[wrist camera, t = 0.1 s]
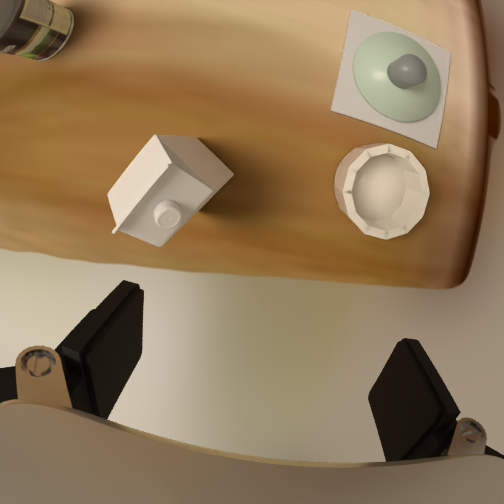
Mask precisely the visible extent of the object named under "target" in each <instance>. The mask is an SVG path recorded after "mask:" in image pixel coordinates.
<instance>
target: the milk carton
mask: <svg viewBox="0 0 504 504" xmlns="http://www.w3.org/2000/svg"><path fill="white" fill-rule="evenodd" d="M233 175H234V173H233V172H232V171H231V170H230V169H229V168H228V167H227V166H226V165H225V164H224V163H223V162H222V161H220V160H219V159H218V158H217V157H216V156H215V155H214V154H213V153H212V152H211V151H210V150H209V149H208V148H207V147H206V146H205V145H204V144H203V143H202V142H201V141H200V140H199V139H198V138H196V137H186V136H173V135H156V134H155V135H154V136H153V137H152V138H151V139H150V140H149V142H148V143H147V144H146V145H145V146H144V148H143V149H142V150H141V151H140V152H139V154H138V155H137V156H136V157H135V159H134V160H133V161H132V162H131V164H130V165H129V166H128V167H127V169H126V170H125V171H124V173H123V174H122V175H121V176H120V178H119V179H118V180H117V182H116V183H115V184H114V186H113V187H112V188H111V190H110V191H109V193H108V198H109V202H110V205H111V209H112V212H113V215H114V219H115V222H116V225H117V226H116V227H115V228H114V230H113V231H112V233H113V234H114V233H115V232H117V231H122V232H124V233H127V234H129V235H131V236H134V237H136V238H139V239H141V240H143V241H146V242H148V243H151V244H153V245H155V246H158V247H161V246H162V245H164V244H165V243H166V242H167V241H168V240H169V239H170V238H171V237H172V236H173V235H174V234H175V233H176V232H177V231H178V230H179V229H180V228H181V227H182V226H183V225H184V224H185V223H186V222H187V221H188V220H189V219H191V218H192V217H193V216H194V215H195V214H196V213H197V212H198V211H199V210H200V209H201V208H202V207H203V206H204V205H205V204H206V203H207V202H208V201H209V200H210V199H211V198H212V197H213V196H214V195H215V194H216V193H217V192H218V191H219V190H220V189H221V188H222V187H223V186H224V185H225V184H226V183H227V182H228V181H229V180H230V179H231V178H232V177H233Z"/></svg>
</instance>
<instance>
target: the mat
mask: <svg viewBox="0 0 504 504" xmlns="http://www.w3.org/2000/svg"><path fill="white" fill-rule="evenodd" d="M379 32H396V33H400V34H403V35H406V36H408V37H410V38H412V39H413V40H415V41H416V42H418V43H419V44H420V45H421V46H422V47H423V48H424V49H425V50H426V51H427V52H428V53H429V54H430V56H431V57H432V59H433V60H434V62H435V64H436V66H437V69H438V71H439V75H440V80H441V94H440V98H439V101H438V103H437V105H436V107H435V109H434V110H433V111H432V112H431V113H430V114H429V115H427V116H426V117H424V118H422V119H420V120H416V121H408V122H402V121H396V120H392V119H389V118H387V117H385V116H383V115H381V114H380V113H378V112H377V111H376V110H374V109H373V108H372V107H371V106H370V105H369V104H368V103H367V102H366V101H365V99H364V98H363V96H362V95H361V93H360V92H359V90H358V88H357V85H356V83H355V80H354V75H353V59H354V55H355V53H356V50H357V49H358V47H359V46H360V44H361V43H362V42H363V41H364V40H365V39H367V38H368V37H369V36H371V35H373V34H376V33H379ZM450 55H451V52H449V51H447V50H445V49H444V48H442V47H440V46H438V45H436V44H434V43H432V42H430V41H428V40H426V39H424V38H422V37H420V36H418V35H416V34H413V33H411V32H409V31H407V30H404V29H402V28H400V27H397V26H395V25H393V24H390V23H388V22H385V21H382V20H380V19H377V18H375V17H372V16H369V15H366V14H363V13H360V12H357V11H354V10H350V14H349V20H348V25H347V31H346V36H345V42H344V47H343V52H342V57H341V62H340V67H339V72H338V77H337V82H336V87H335V91H334V96H333V101H332V105H331V110H330V111H332V112H335V113H339V114H342V115H345V116H349V117H352V118H355V119H358V120H361V121H364V122H367V123H370V124H373V125H376V126H379V127H382V128H384V129H387V130H390V131H393V132H395V133H398V134H400V135H403V136H406V137H408V138H411V139H413V140H416V141H418V142H420V143H423V144H425V145H427V146H430V147H432V148H434V149H436V148H437V143H438V138H439V133H440V128H441V123H442V117H443V111H444V105H445V98H446V91H447V84H448V76H449V66H450Z"/></svg>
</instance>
